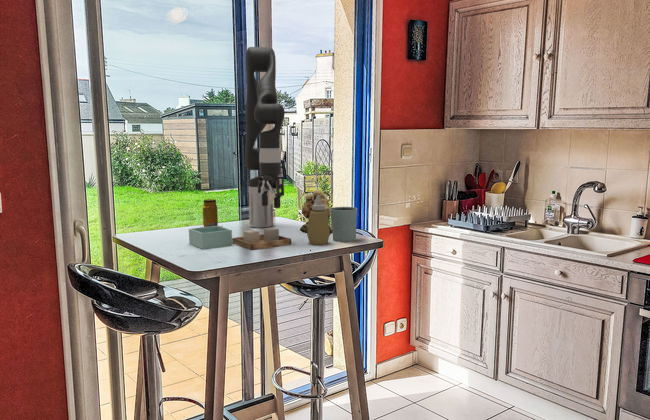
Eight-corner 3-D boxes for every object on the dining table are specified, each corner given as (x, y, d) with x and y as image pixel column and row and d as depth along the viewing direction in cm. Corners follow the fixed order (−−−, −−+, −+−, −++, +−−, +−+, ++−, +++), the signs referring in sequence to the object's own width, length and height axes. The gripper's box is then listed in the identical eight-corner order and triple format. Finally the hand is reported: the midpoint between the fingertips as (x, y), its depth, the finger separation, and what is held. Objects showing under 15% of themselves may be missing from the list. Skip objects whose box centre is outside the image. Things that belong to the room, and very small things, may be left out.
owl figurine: (291, 229, 228) (291, 188, 225) (315, 227, 234) (315, 187, 232) (315, 236, 213) (315, 192, 211) (340, 233, 219) (340, 190, 217)
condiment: (203, 226, 235) (202, 198, 233) (223, 226, 236) (222, 198, 235) (201, 229, 228) (201, 200, 226) (222, 228, 229) (221, 200, 228)
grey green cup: (355, 243, 200) (355, 210, 198) (328, 242, 201) (328, 209, 200) (358, 237, 210) (358, 206, 208) (332, 236, 211) (332, 206, 210)
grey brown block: (273, 241, 200) (273, 227, 199) (279, 242, 197) (278, 229, 196) (263, 242, 198) (263, 228, 197) (269, 244, 195) (269, 230, 194)
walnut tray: (271, 239, 205) (270, 233, 205) (291, 246, 194) (291, 238, 194) (232, 245, 196) (232, 237, 196) (251, 251, 185) (251, 244, 184)
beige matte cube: (252, 243, 195) (252, 229, 195) (259, 245, 193) (259, 231, 192) (243, 245, 193) (243, 231, 192) (250, 247, 190) (250, 232, 189)
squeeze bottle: (303, 246, 194) (303, 195, 191) (312, 242, 201) (311, 193, 199) (325, 247, 191) (325, 196, 189) (332, 243, 199) (333, 194, 196)
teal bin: (218, 241, 202) (217, 225, 201) (232, 246, 193) (231, 230, 192) (189, 245, 195) (188, 228, 195) (202, 250, 187) (201, 233, 186)
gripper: (290, 161, 190) (290, 208, 192) (269, 160, 201) (269, 204, 203) (271, 162, 185) (272, 209, 188) (250, 160, 197) (251, 205, 199)
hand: (270, 206), depth 195 cm, fingers open, 8 cm apart
